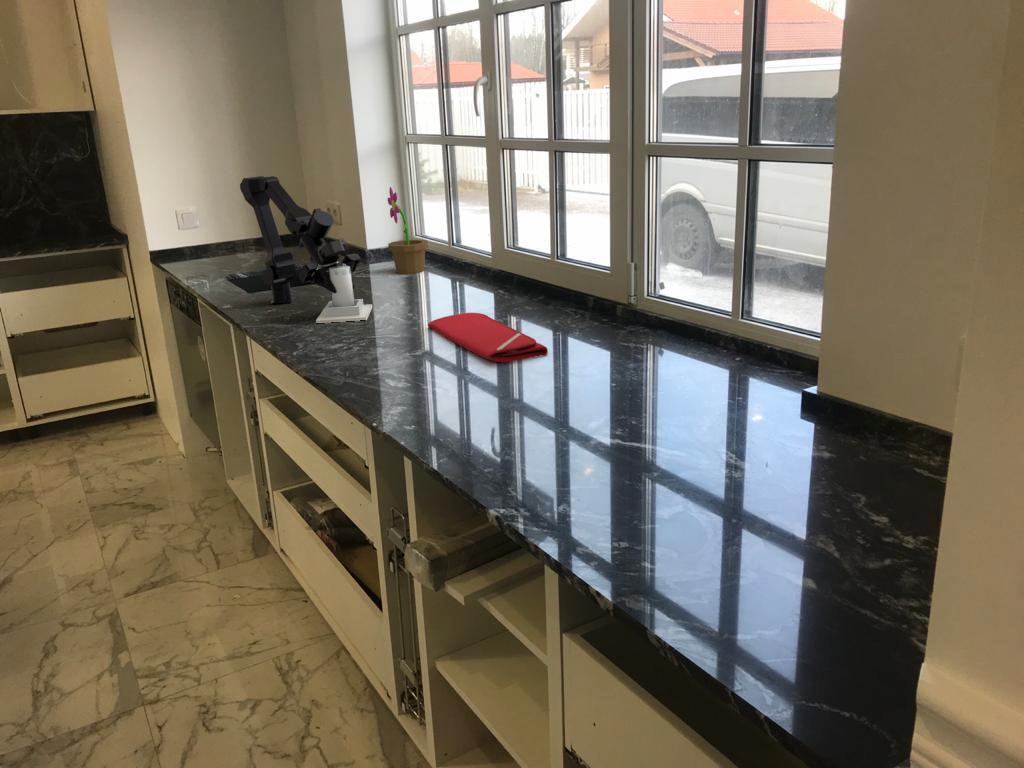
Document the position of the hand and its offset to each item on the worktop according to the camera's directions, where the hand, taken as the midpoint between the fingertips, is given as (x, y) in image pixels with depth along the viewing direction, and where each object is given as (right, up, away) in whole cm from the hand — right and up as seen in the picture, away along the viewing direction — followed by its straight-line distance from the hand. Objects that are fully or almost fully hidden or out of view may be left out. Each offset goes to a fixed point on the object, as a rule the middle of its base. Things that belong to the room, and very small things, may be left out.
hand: (345, 290), depth 243 cm
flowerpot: (+11, +14, +63) cm, 65 cm away
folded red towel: (+41, -16, -29) cm, 53 cm away
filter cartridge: (-1, -6, +3) cm, 7 cm away
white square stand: (-1, -7, +3) cm, 8 cm away
